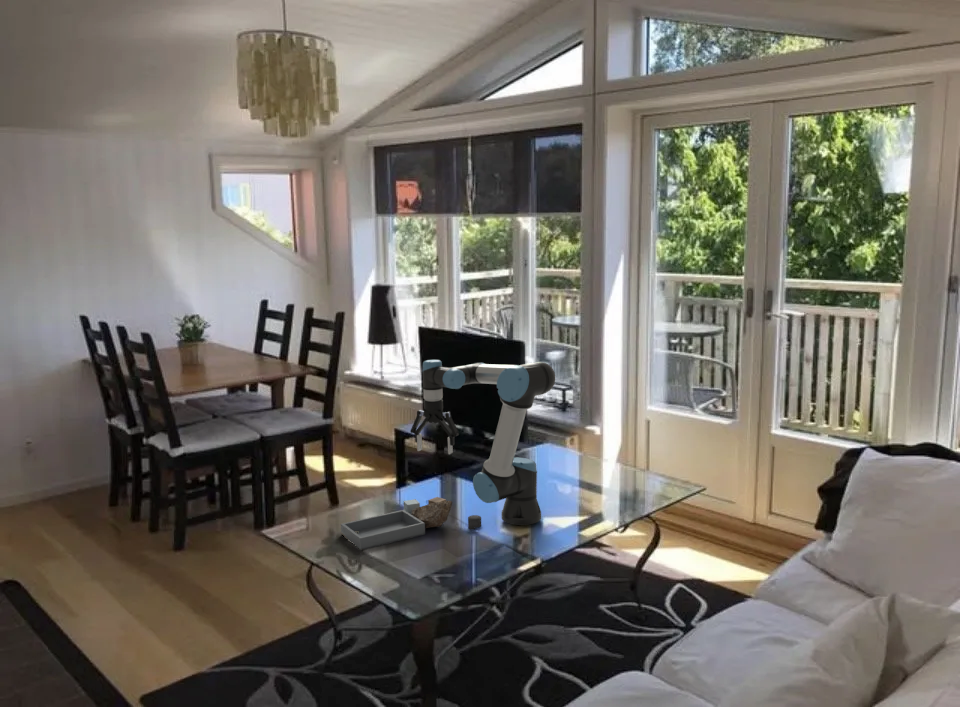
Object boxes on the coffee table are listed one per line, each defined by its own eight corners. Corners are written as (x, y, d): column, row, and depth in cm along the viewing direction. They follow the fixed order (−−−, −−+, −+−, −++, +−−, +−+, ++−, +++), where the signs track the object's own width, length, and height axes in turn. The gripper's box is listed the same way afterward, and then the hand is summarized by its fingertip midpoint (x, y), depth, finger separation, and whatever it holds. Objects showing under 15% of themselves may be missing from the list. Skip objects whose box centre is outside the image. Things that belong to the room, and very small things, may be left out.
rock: (457, 502, 307) (440, 492, 301) (457, 526, 301) (440, 517, 294) (421, 516, 315) (404, 507, 309) (421, 540, 309) (404, 531, 302)
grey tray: (425, 534, 297) (424, 523, 296) (360, 550, 283) (360, 538, 282) (403, 520, 311) (403, 509, 310) (341, 535, 297) (340, 523, 297)
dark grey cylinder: (483, 528, 303) (483, 518, 302) (472, 531, 300) (472, 520, 300) (476, 524, 307) (476, 514, 306) (465, 527, 304) (465, 516, 304)
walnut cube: (446, 511, 321) (446, 499, 320) (437, 514, 318) (437, 502, 317) (437, 508, 325) (437, 496, 324) (428, 512, 321) (428, 500, 320)
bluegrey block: (420, 517, 315) (419, 503, 314) (407, 519, 313) (407, 504, 312) (416, 513, 319) (415, 499, 318) (404, 515, 317) (403, 500, 316)
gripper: (466, 399, 313) (467, 452, 316) (409, 395, 323) (411, 446, 326) (457, 403, 307) (459, 456, 310) (400, 399, 317) (402, 451, 320)
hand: (435, 451), depth 318 cm, fingers open, 13 cm apart
